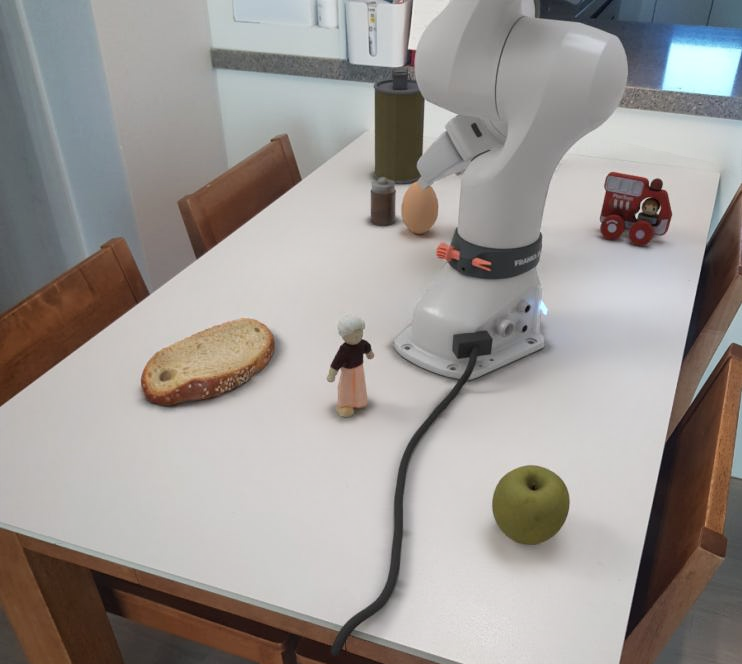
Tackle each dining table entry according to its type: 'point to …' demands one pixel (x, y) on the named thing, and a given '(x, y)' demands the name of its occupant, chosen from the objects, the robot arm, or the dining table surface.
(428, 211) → the egg
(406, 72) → the canister
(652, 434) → the dining table surface
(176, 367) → the slice of bread
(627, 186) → the toy fire truck
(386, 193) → the pepper shaker
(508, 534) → the apple
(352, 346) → the grandmother figurine
